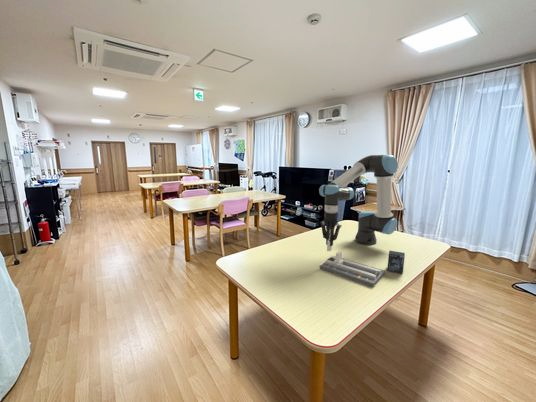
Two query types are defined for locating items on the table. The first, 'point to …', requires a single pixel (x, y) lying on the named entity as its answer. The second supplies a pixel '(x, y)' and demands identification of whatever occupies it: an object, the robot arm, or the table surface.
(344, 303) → the table surface
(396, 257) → the box
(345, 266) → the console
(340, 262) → the fader tab
